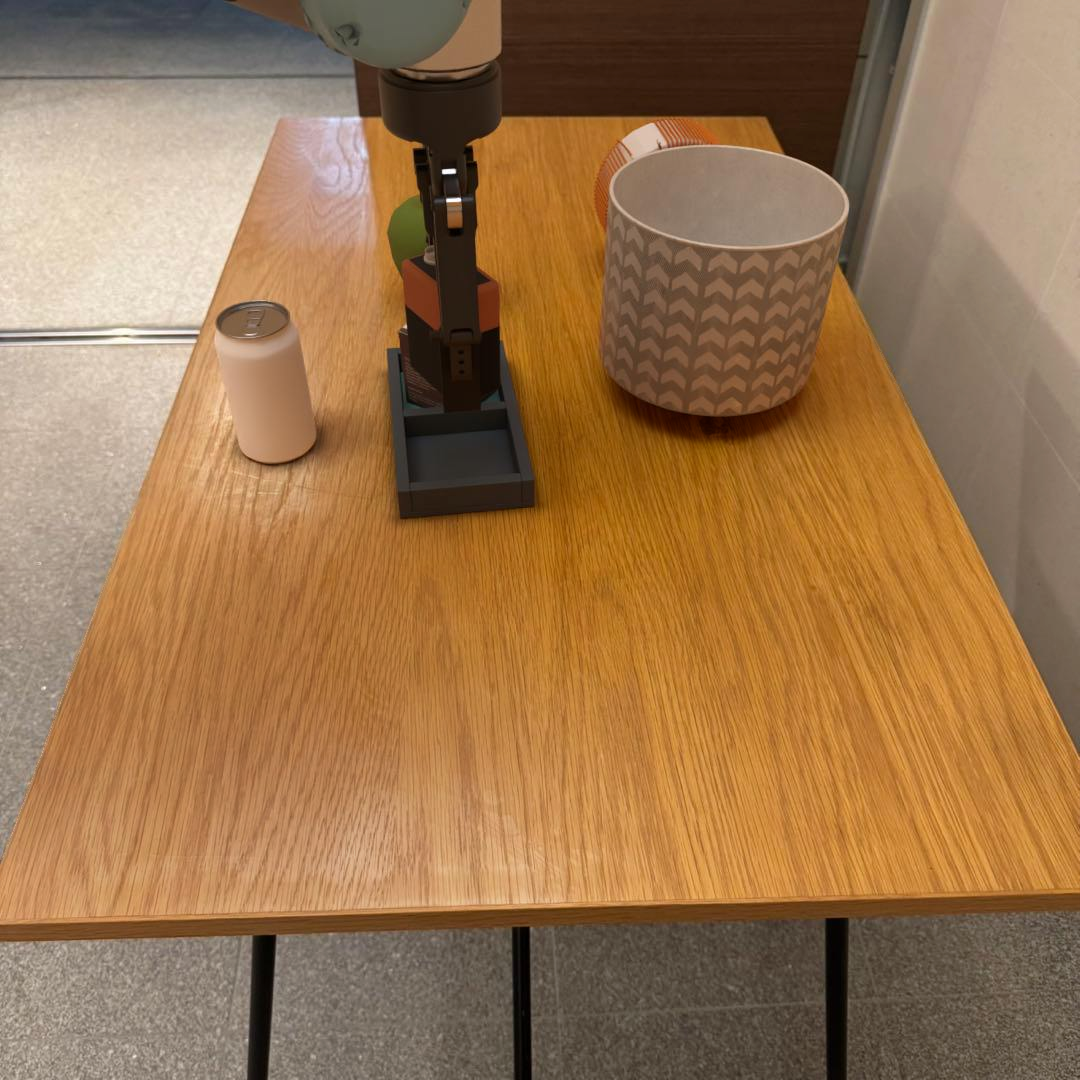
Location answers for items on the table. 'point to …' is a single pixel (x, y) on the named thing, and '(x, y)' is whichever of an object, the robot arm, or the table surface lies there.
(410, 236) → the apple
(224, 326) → the can
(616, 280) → the planter
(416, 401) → the box
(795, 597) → the table surface
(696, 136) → the coil
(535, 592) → the table surface
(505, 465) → the holder
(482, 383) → the battery
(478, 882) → the table surface
